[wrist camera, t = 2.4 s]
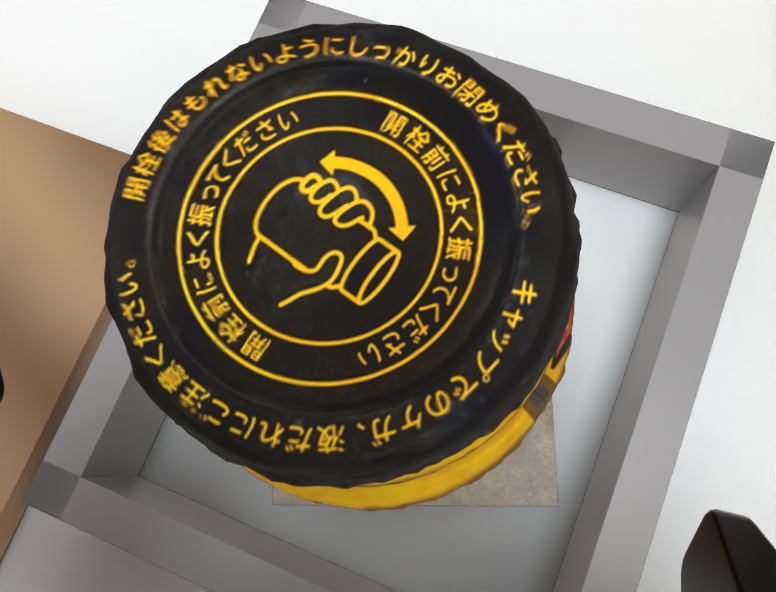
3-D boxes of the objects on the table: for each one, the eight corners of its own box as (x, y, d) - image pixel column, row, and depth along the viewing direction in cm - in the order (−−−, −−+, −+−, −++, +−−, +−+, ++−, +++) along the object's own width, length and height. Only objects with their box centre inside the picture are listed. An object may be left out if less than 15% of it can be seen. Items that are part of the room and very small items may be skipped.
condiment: (274, 504, 18) (-35, 565, 7) (285, 201, 20) (64, -156, 9) (557, 506, 18) (760, 575, 6) (539, 192, 20) (666, -204, 8)
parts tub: (558, 714, 16) (581, 766, 14) (89, 497, 19) (22, 502, 16) (726, 191, 19) (774, 141, 16) (298, 56, 21) (273, -9, 18)
